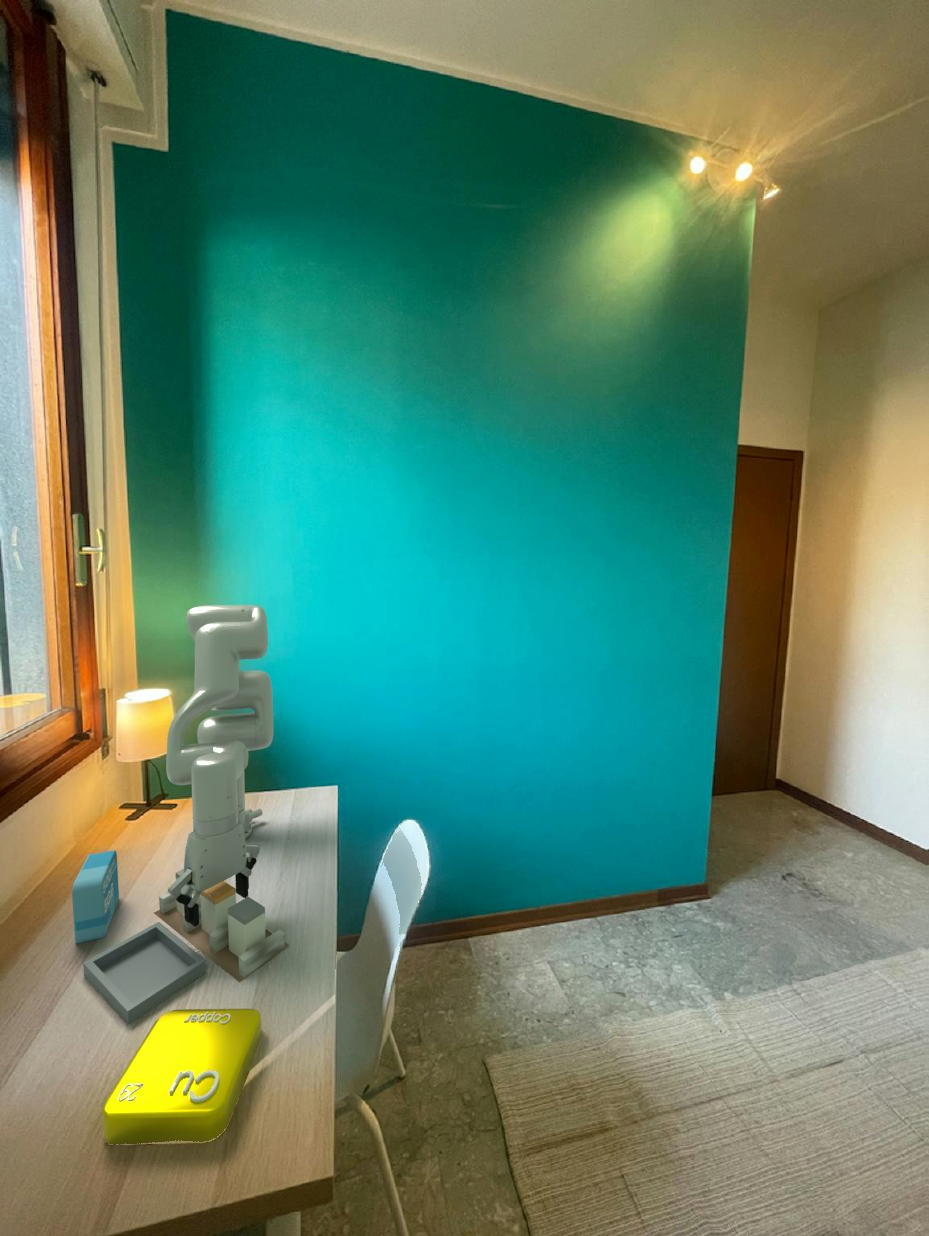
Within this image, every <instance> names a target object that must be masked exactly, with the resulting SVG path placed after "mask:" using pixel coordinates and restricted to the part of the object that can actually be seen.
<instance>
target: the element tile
mask: <svg viewBox="0 0 929 1236" xmlns="http://www.w3.org/2000/svg"><path fill="white" fill-rule="evenodd" d="M261 1018H262V1017H261V1013H260V1012H259V1011H258V1009H255V1008H203V1009H202V1008H201V1009H200V1008H199V1009H197V1008H196V1009H194V1008H189V1009H183V1008H182V1009H181V1008H180V1009H173V1010H169V1011H167V1012H164V1013H163V1014H161V1015H160V1017H158V1018H157V1020H156V1021H154V1024H153V1025H152V1026H151V1028H150V1030H149V1032H148V1033H147V1034H146V1036H145V1038H144V1039H143V1040H142V1042H141V1044H140V1046H139V1047H138V1048H137V1051H136V1052H135V1054H134V1055H133V1057H132V1058H131V1060H130V1062H128V1065H127V1066H126V1068H125V1070H124V1071H123V1073H122V1074H121V1076H120V1077H119V1079H118V1080H117V1083H115V1085H114V1087H113V1088H112V1090H111V1092H110V1093H109V1095H108V1096H107V1098H106V1100H105V1101H104V1103H103V1106H102V1112H101V1113H102V1114H101V1115H102V1117H101V1118H102V1132H103V1133H102V1134H103V1135H104V1136H103V1139H105V1141H106V1142H107V1143H109V1144H113V1145H116V1144H119V1145H120V1144H125V1143H126V1144H137V1143H138V1144H139V1143H140V1144H141V1143H149V1142H150V1143H152V1142H155V1143H156V1142H165V1141H166V1142H167V1141H168V1142H169V1141H175V1140H176V1141H178V1140H179V1141H181V1140H182V1141H193V1142H195V1141H196V1142H198V1141H199V1142H204V1141H209V1140H211V1139H213V1138H217V1136H219V1134H221V1133H222V1132H223V1131H224V1129H225V1128H226V1127H227V1125H228V1123H229V1121H230V1118H231V1116H232V1113H233V1111H234V1109H235V1110H236V1108H235V1106H236V1107H237V1105H236V1103H237V1101H238V1102H239V1100H238V1098H239V1096H240V1097H241V1095H240V1093H241V1094H242V1092H243V1090H242V1088H243V1089H244V1087H245V1085H244V1084H246V1081H247V1079H248V1076H249V1074H250V1071H251V1070H249V1068H250V1066H251V1063H252V1060H253V1058H254V1055H255V1053H256V1050H257V1048H258V1045H259V1042H260V1040H261V1036H262V1032H261V1031H262V1030H261V1029H262V1027H261V1025H262V1024H261V1020H262V1019H261ZM243 1086H244V1087H243ZM241 1091H242V1092H241ZM239 1099H240V1098H239ZM237 1104H238V1103H237ZM234 1112H235V1111H234ZM233 1114H234V1113H233ZM232 1117H233V1116H232ZM231 1119H232V1118H231ZM230 1122H231V1121H230ZM105 1141H104V1142H105ZM107 1143H106V1144H107Z"/></svg>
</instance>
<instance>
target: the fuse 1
mask: <svg viewBox="0 0 929 1236" xmlns="http://www.w3.org/2000/svg"><path fill="white" fill-rule="evenodd" d="M183 873H184V868H181V869H180V870H178V871H176V872H175V881H176V880H177V879H178V878H179V877H180V876H181V875H182V874H183ZM188 886H189V885H185V886H184V887H183V888H182V889H181V893H182V894H184V892H185V891H186V889H187V887H188ZM194 891H195V890H194ZM194 891H193V892H194ZM192 894H193V893H192ZM192 894H191V896H192ZM191 896H190V897H191ZM196 903H197V904H198V905H201V894H200V896H199V898H198V900H197V901H196ZM177 911H179V912H180V913H181V914H184V904H181V903H179V902H177Z"/></svg>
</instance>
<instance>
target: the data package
mask: <svg viewBox="0 0 929 1236" xmlns="http://www.w3.org/2000/svg"><path fill="white" fill-rule="evenodd" d="M118 872H119V871H118V853H117V850H115V849H114V850H108V851H103V852H96V853H92V854H91V853H90V854H88V856H87V857H86V858H85V861H84V862H83V864H82V867H81V868H80V870H79V872H78V875H77V876H76V878H75V880H74V882H73V885H72V889H71V890H72V891H71V901H72V916H73V928H74V942H75V943H76V944H80V943H85V942H89V941H93V940H98V939H102V938H105V937H106V935H107V933H108V930H109V928H110V924H111V922H112V919H113V917H114V913H115V911H116V908H117V905H118V902H119V900H120V890H119V873H118Z"/></svg>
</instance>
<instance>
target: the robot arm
mask: <svg viewBox="0 0 929 1236" xmlns="http://www.w3.org/2000/svg"><path fill="white" fill-rule="evenodd" d="M267 618H268V617H267V614H266V611H265V609H264V608H263V607H262V606H260V605H256V604H255V605H254V604H220V605H219V604H212V605H211V604H209V605H199V606H195V607H191V608H190V609H189V610H187V612H186V616H185V621H186V627H187V629H188V632H189V634H190V636H191V638H192V640H193V641H194V680H193V681H194V682H193V684H194V685H193V687H194V688H193V689H194V690H193V693H192V695H191V696H190V697H189V698H188V699H187V700H186V701H185V703H183V704H182V706H181V707H180V708H179V709H178V711H177V712H176V713H175V715H174V717H173V719H172V721H171V722H170V725H169V729H168V733H167V740H166V758H165V760H166V763H165V766H166V768H165V769H166V776H167V779H168V781H169V782H170V783H172V784H174V785H177V786H185V785H191V798H192V799H191V802H192V803H191V805H192V831H191V832H190V833H188V836H187V839H186V844H185V850H184V858H183V859H184V861H183V863H184V864H183V869H184V873H183V874H182V875H181V876H180V877H179V878H178V879H177V880H176V879H175V881H174V882H173V883H172V884H171V885H170V886H169V887H168V888H167V892H169V894H170V895H171V896H172V897H173V899H175V900H176V901H177V902H179V903H181V904H184V917H185V921H186V922H188V923H190V924H192V925H193V926H194V927H196V926H198V925H199V905H198V904H197V903H196V901H197V900H198V898H199V896H200V894H201V893H202V891H205V890H207V889H209V888H211V887H213V886H215V885H217V884H219V883H221V882H222V881H226V880H228V879H230V878H232V877H234V876H235V877H234V878H235V881H234V882H235V888H236V895H239V896H240V897H242V898H243V899H245V898H247V897H249V888H250V879H249V878H250V876H251V875H252V870H253V868H254V867H255V866H256V863H257V858H258V857H259V853H260V851H261V847H260V846H258V845H256V844H247V843H246V839H249V838H248V837H250V836H251V835H252V833H253V825H252V823H251V822H252V821H253V820H254V819H257V818H259V817H261V816H263V810H262V809H261V808H258V809H255V810H253V809H251V808H248V809H247V810H246V796H245V795H246V793H245V791H246V790H245V784H246V783H245V769H246V768H247V767H248V766H249V765H248V764H249V752H250V751H258V750H262V749H265V748H266V749H267V748H268V747H270V746H271V744H272V742H273V739H274V712H273V710H274V709H273V708H274V707H273V704H274V703H273V685H272V681H271V678H270V675H269V674H268V673H267V672H265V671H263V670H243V671H242V670H241V667H240V660H257V659H262V658H264V657H265V655H266V654H267V651H268V646H269V629H268V619H267ZM246 709H252V711H253V712H244V713H230V714H229V713H228V714H218V715H214V716H213V715H212V716H209V717H207V718H204V719H203V720H202V721H200V723H199V724H198V727H197V733H196V736H197V742H198V743H190V744H184V740H185V739H184V738H185V734H186V730H187V729H188V727H189V725H190V724H191V723H192V722H193V721H194V720H195V719H197V718H198V717H199V716H200V715H202V714H203V713H205V712H207V711H209V710H211V711H215V712H216V711H219V712H220V711H221V712H222V711H233V710H246ZM247 854H248V856H247ZM185 885H189V886H188V887H187V889H186V891H185V892H184V894H182V893H181V889H182V888H183V887H184V886H185ZM194 890H195V891H194ZM193 891H194V892H193ZM192 893H193V894H192ZM191 894H192V896H191ZM190 896H191V897H190Z"/></svg>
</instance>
